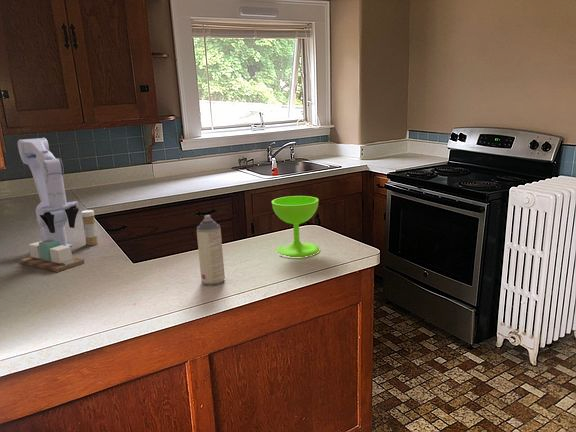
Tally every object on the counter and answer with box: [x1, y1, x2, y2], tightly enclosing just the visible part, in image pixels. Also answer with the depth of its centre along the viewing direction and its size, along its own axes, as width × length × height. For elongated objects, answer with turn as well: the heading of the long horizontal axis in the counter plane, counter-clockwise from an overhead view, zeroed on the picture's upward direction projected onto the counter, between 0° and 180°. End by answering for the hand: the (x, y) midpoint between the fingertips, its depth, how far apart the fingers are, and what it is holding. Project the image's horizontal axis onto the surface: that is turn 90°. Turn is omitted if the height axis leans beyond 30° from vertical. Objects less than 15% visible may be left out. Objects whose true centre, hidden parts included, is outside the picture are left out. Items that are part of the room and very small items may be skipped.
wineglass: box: [271, 195, 320, 257], centre depth 160 cm, size 16×16×18 cm
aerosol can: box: [196, 214, 226, 287], centre depth 135 cm, size 7×7×20 cm
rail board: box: [19, 256, 85, 273], centre depth 162 cm, size 22×10×1 cm, turn 58°
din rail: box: [29, 254, 74, 265], centre depth 162 cm, size 21×4×1 cm, turn 58°
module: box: [38, 239, 60, 261], centre depth 161 cm, size 5×4×6 cm
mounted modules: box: [28, 240, 73, 263], centre depth 161 cm, size 18×4×4 cm, turn 58°
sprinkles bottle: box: [80, 209, 99, 246], centre depth 181 cm, size 5×5×13 cm
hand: (62, 230), depth 168 cm, fingers open, 7 cm apart
